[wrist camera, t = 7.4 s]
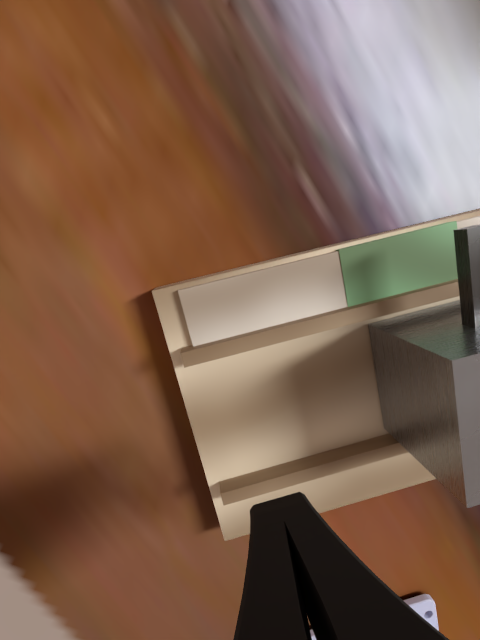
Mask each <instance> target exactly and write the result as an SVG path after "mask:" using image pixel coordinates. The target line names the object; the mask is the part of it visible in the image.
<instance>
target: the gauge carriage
mask: <svg viewBox="0 0 480 640" xmlns="http://www.w3.org/2000/svg"><path fill="white" fill-rule="evenodd" d="M453 231H454V242H455V253H456V264H457V275H458V285H459V296H460V300H458V301H454V302H450V303H446V304H443V305H439V306H435V307H431V308H427V309H423V310H420V311H416V312H412V313H408V314H404V315H400V316H397V317H393V318H389V319H385V320H381V321H377V322H374V323H370V324H368V329H369V335H370V342H371V348H372V354H373V361H374V367H375V374H376V380H377V387H378V393H379V400H380V406H381V412H382V419H383V425H384V429H385V430H386V431H387V432H388V433H389V434H390V435H392V436H393V437H394V438H395V439H396V440H397V441H398V442H399V443H400V444H401V445H402V446H403V447H404V448H405V449H406V450H407V451H408V452H409V453H410V454H411V455H412V456H413V457H414V458H415V459H416V460H417V461H419V462H420V463H421V464H422V465H423V466H424V467H425V468H426V469H427V470H428V471H429V472H430V473H431V474H432V475H433V476H434V477H435V478H436V479H437V480H438V481H439V482H440V483H441V484H442V485H443V486H444V487H446V488H447V489H448V490H449V491H450V492H451V493H452V494H453V495H454V496H455V497H456V498H457V499H458V500H459V501H460V502H461V503H462V504H463V505H464V506H465V507H466V508H469V507H472V506H476V505H479V504H480V225H472V226H468V227H464V228H460V229H456V230H453Z"/></svg>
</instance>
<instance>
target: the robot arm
mask: <svg viewBox="0 0 480 640" xmlns="http://www.w3.org/2000/svg"><path fill="white" fill-rule="evenodd" d="M306 613H307V614H306ZM307 616H308V618H307ZM308 619H309V621H310V624H311V627H312V629H311V630H310V628H309V623H308ZM234 640H449V639H448V638H446V637H445V636H444V635H443V634H442V633H440V632H439V628H438V620H437V613H436V606H435V602H434V600H433V599H432V598H431V596H430V595H428V594H422V595H418V596H415V597H412V598H409V599H406V600H402V599H401V598H400V597H399V596H398V595H396V594H395V593H394V592H393V591H392V590H391V589H390V588H389V587H388V586H387V585H386V584H385V583H384V582H383V581H382V580H380V579H379V578H378V577H377V576H376V575H375V574H374V573H373V572H372V571H371V570H370V569H369V568H368V567H367V566H366V565H365V564H364V563H363V562H362V561H361V560H360V559H359V558H358V557H357V556H356V555H355V554H354V553H353V552H352V550H351V549H350V548H349V547H348V546H347V545H346V544H345V543H344V542H343V541H342V540H341V539H340V538H339V537H338V536H337V534H336V533H335V532H334V531H333V530H332V529H331V528H330V526H329V525H328V524H327V523H326V522H325V521H324V519H323V518H322V517H321V516H320V515H319V513H318V512H317V511H316V509H315V508H314V507H313V506H312V504H311V503H310V501H309V500H308V499H307V497H306V496H305V494H303V493H301V492H297V493H293V494H290V495H286V496H283V497H279V498H276V499H272V500H269V501H266V502H262V503H259V504H255V505H253V506H252V508H251V509H250V541H249V551H248V560H247V567H246V574H245V582H244V588H243V594H242V600H241V605H240V610H239V615H238V620H237V625H236V630H235V635H234Z"/></svg>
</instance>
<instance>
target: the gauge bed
mask: <svg viewBox="0 0 480 640" xmlns="http://www.w3.org/2000/svg"><path fill="white" fill-rule="evenodd" d="M472 225H480V209H476V210H472V211H468V212H464V213H459V214H455V215H451V216H447V217H443V218H439V219H435V220H431V221H427V222H423V223H419V224H414V225H410V226H406V227H402V228H398V229H394V230H390V231H386V232H382V233H378V234H374V235H369V236H365V237H361V238H357V239H353V240H349V241H345V242H341V243H337V244H333V245H328V246H324V247H320V248H316V249H312V250H308V251H304V252H300V253H296V254H292V255H288V256H283V257H279V258H275V259H271V260H267V261H263V262H259V263H255V264H251V265H247V266H243V267H238V268H234V269H230V270H226V271H222V272H218V273H214V274H210V275H206V276H202V277H197V278H193V279H189V280H185V281H181V282H177V283H173V284H169V285H165V286H161V287H157V288H155V289H153V290H152V294H153V297H154V301H155V304H156V308H157V311H158V314H159V318H160V321H161V325H162V328H163V332H164V335H165V338H166V342H167V345H168V349H169V352H170V355H171V359H172V362H173V366H174V369H175V373H176V376H177V379H178V383H179V386H180V390H181V393H182V397H183V400H184V403H185V407H186V410H187V414H188V417H189V420H190V424H191V427H192V431H193V434H194V438H195V441H196V444H197V448H198V451H199V455H200V458H201V462H202V465H203V468H204V472H205V475H206V479H207V482H208V485H209V489H210V492H211V496H212V499H213V503H214V506H215V509H216V513H217V516H218V520H219V523H220V527H221V530H222V533H223V537H224V540H225V541H227V540H230V539H234V538H237V537H241V536H244V535H247V534H250V509H251V508H252V506H253V505H255V504H259V503H262V502H266V501H269V500H272V499H276V498H279V497H283V496H286V495H290V494H293V493H297V492H301V493H303V494H305V496H306V497H307V499H308V500H309V501H310V503H311V504H312V506H313V507H314V508H315V509H316V511H317V512H318V513H322V512H325V511H329V510H332V509H335V508H339V507H342V506H345V505H349V504H352V503H356V502H359V501H362V500H366V499H369V498H373V497H376V496H379V495H383V494H386V493H390V492H393V491H396V490H400V489H403V488H406V487H410V486H413V485H417V484H420V483H423V482H427V481H430V480H434V479H436V478H435V477H434V476H433V475H432V474H431V473H430V472H429V471H428V470H427V469H426V468H425V467H424V466H423V465H422V464H421V463H420V462H419V461H417V460H416V459H415V458H414V457H413V456H412V455H411V454H410V453H409V452H408V451H407V450H406V449H405V448H404V447H403V446H402V445H401V444H400V443H399V442H398V441H397V440H396V439H395V438H394V437H393V436H392V435H390V434H389V433H388V432H387V431H386V430H385V429H384V425H383V419H382V412H381V406H380V400H379V393H378V387H377V380H376V374H375V367H374V361H373V354H372V348H371V342H370V335H369V329H368V324H370V323H374V322H377V321H381V320H385V319H389V318H393V317H397V316H400V315H404V314H408V313H412V312H416V311H420V310H423V309H427V308H431V307H435V306H439V305H443V304H446V303H450V302H454V301H458V300H460V296H459V285H458V275H457V264H456V253H455V242H454V231H453V230H456V229H460V228H464V227H468V226H472Z"/></svg>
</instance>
